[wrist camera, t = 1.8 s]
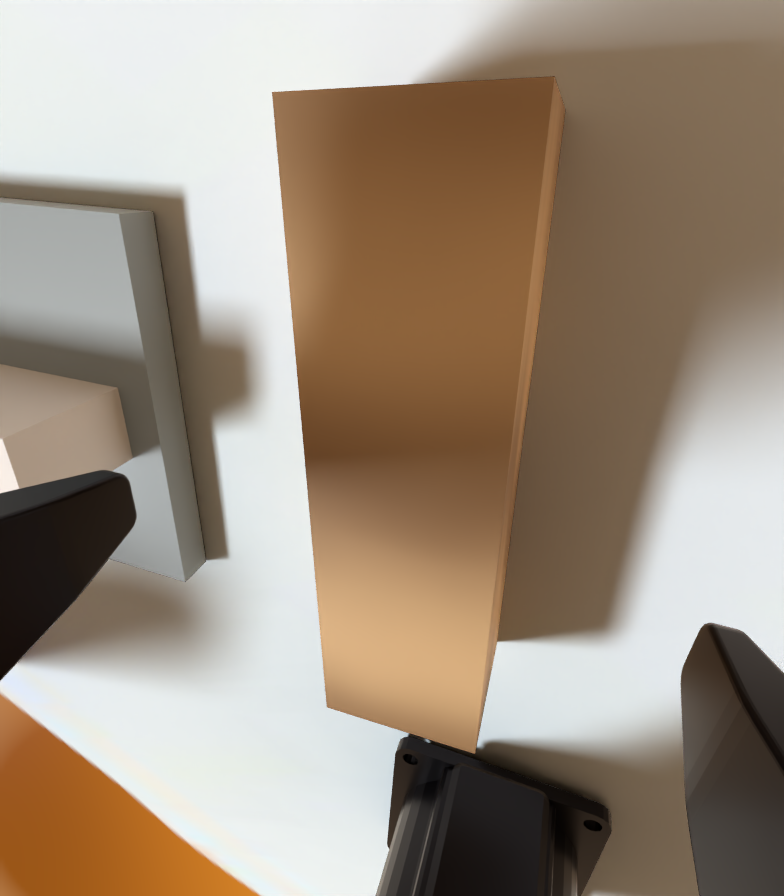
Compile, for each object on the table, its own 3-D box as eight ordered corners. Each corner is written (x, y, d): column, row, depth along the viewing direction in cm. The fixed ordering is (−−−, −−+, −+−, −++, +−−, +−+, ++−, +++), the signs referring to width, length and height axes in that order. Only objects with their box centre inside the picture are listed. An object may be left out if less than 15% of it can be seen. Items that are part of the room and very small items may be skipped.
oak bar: (498, 634, 14) (474, 753, 11) (377, 604, 15) (327, 706, 12) (565, 112, 9) (554, 77, 6) (368, 118, 10) (272, 92, 7)
